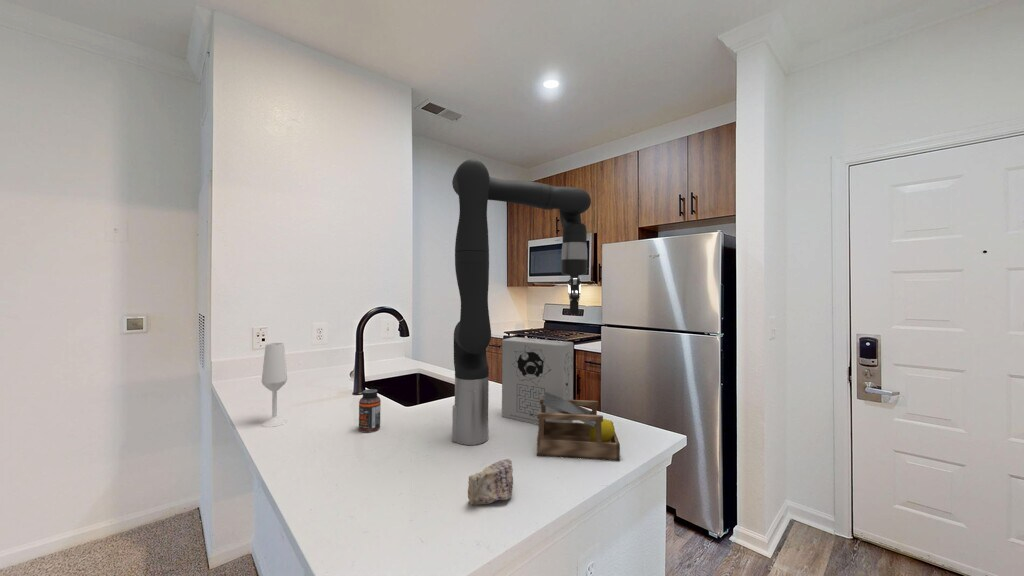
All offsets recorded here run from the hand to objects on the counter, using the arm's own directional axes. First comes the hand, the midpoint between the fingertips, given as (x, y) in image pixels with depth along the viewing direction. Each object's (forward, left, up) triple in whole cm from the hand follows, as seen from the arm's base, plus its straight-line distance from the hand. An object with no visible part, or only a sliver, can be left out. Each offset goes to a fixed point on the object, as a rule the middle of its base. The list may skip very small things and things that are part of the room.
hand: (573, 313), depth 117 cm
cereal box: (-11, +6, -34) cm, 37 cm away
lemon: (+4, -14, -33) cm, 36 cm away
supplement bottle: (-59, -9, -34) cm, 69 cm away
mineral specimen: (-17, -40, -34) cm, 55 cm away
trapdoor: (-2, -14, -25) cm, 29 cm away
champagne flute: (-90, -8, -34) cm, 97 cm away
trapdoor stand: (0, -13, -34) cm, 37 cm away
